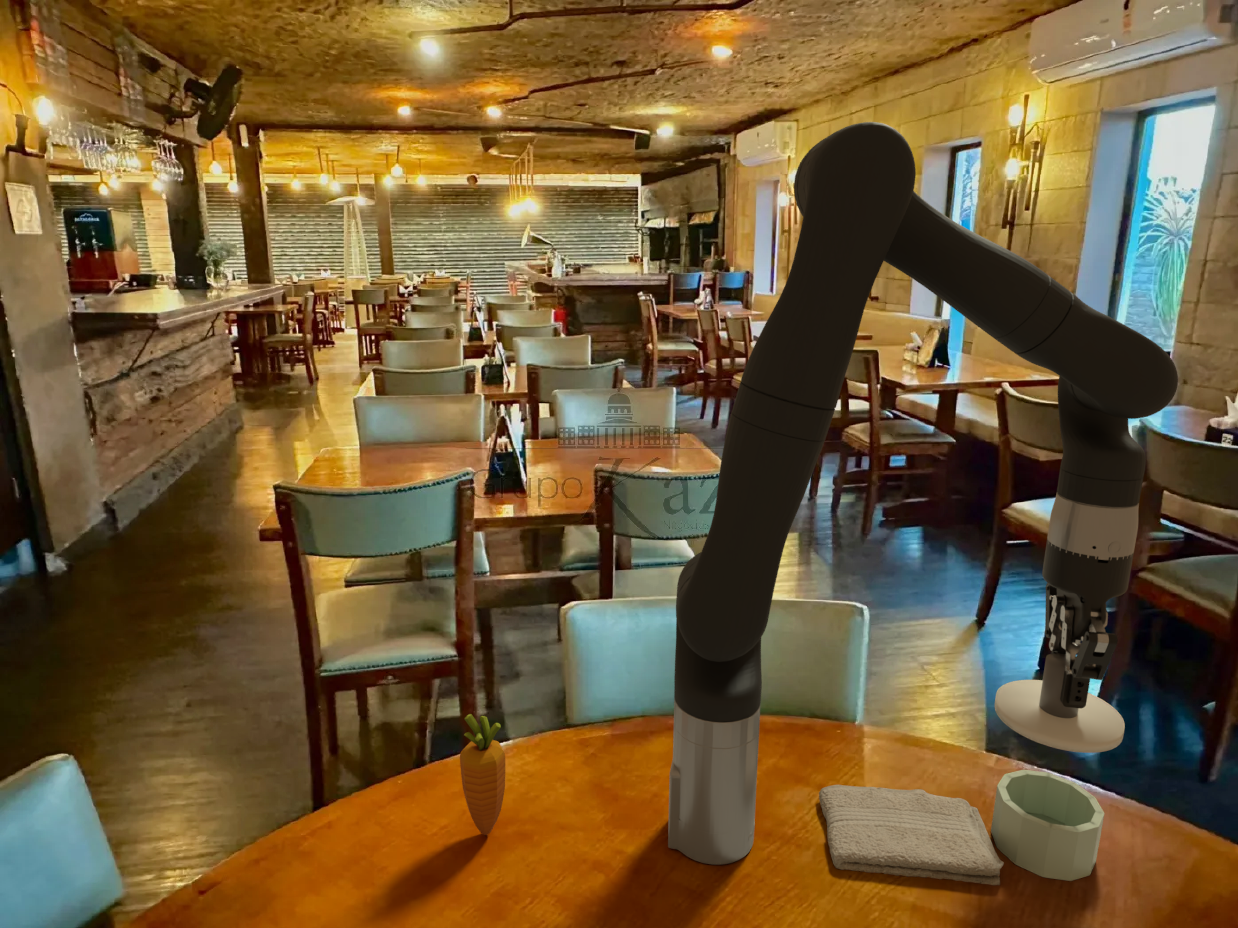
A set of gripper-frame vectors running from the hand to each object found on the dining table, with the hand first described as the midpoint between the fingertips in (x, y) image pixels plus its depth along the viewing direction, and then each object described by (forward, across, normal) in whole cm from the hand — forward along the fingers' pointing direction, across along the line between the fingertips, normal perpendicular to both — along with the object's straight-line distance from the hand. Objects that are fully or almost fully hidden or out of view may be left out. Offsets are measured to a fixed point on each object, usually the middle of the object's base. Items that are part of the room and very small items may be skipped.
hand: (1065, 694), depth 83 cm
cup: (+19, 0, 0) cm, 19 cm away
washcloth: (+19, +2, -15) cm, 24 cm away
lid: (+3, 0, 0) cm, 3 cm away
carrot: (+19, +11, -61) cm, 65 cm away
